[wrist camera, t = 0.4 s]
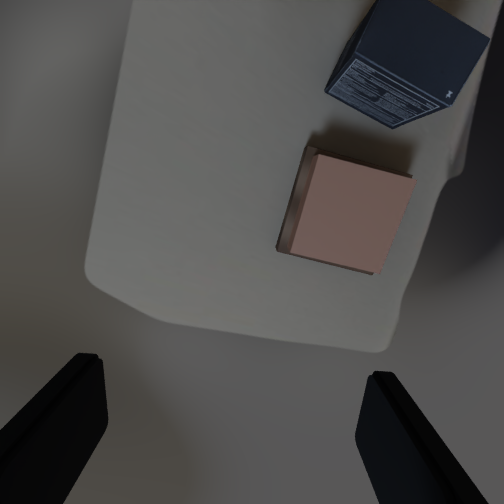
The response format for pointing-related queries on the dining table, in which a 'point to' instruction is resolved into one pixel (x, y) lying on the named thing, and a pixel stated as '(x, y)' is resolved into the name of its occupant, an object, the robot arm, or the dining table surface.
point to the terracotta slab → (349, 213)
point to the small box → (405, 61)
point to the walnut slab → (298, 192)
